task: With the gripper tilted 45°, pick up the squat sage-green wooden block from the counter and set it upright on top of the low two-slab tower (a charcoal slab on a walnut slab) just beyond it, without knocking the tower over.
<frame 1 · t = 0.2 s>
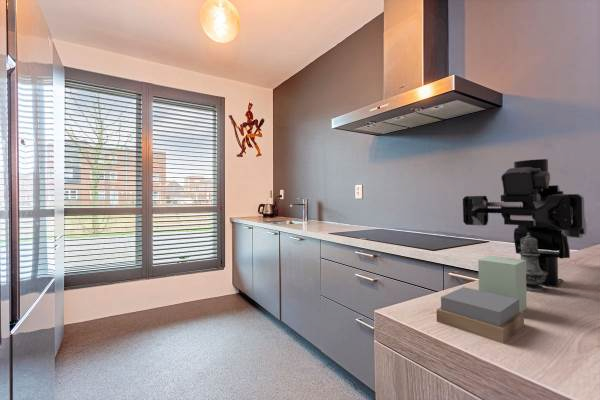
hand: (500, 214, 51), 17 cm above the table, tool horizontal, fingers open, 9 cm apart
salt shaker: (530, 289, 61), on the table
charcoal top slab: (479, 310, 44), point 2 cm above the table
walnut base slab: (479, 326, 45), on the table
sage green block: (502, 307, 51), on the table
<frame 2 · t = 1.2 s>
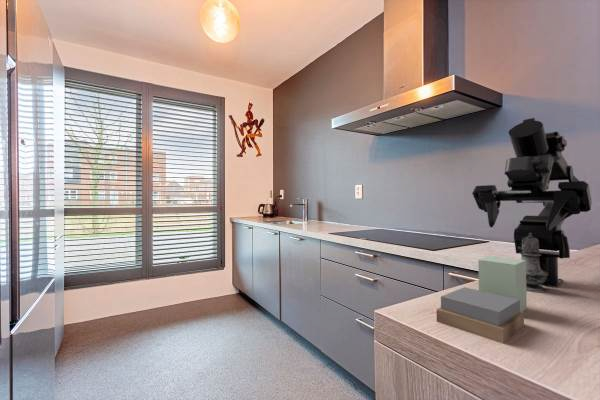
hand: (517, 227, 56), 14 cm above the table, tool tilted 45°, fingers open, 9 cm apart
charcoal top slab: (479, 310, 44), point 2 cm above the table, touching walnut base slab
walnut base slab: (479, 326, 44), on the table, touching charcoal top slab
everything else where it was.
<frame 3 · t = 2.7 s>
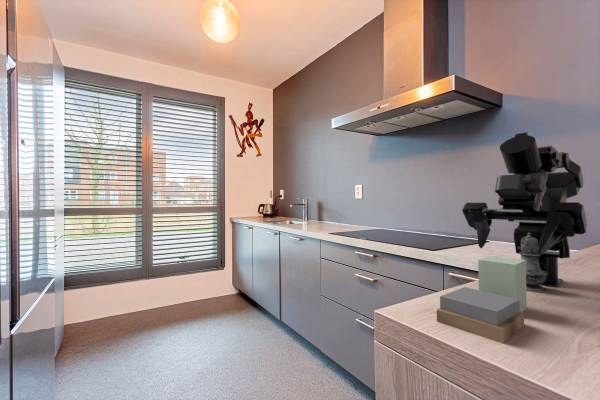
hand: (507, 249, 53), 10 cm above the table, tool tilted 45°, fingers open, 9 cm apart
charcoal top slab: (479, 310, 45), point 2 cm above the table
walnut base slab: (479, 327, 44), on the table
everything else where it was.
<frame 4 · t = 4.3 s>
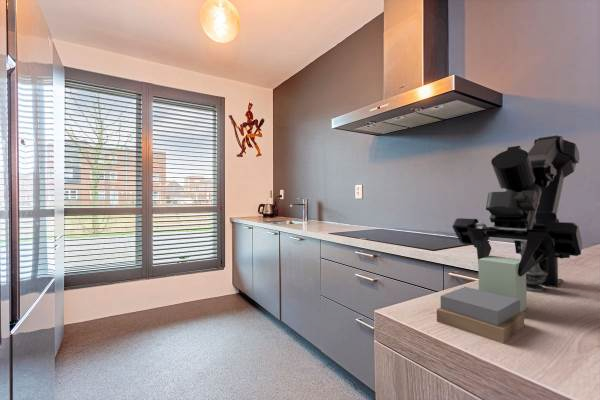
hand: (499, 271, 50), 7 cm above the table, tool tilted 45°, fingers closed on sage green block, 5 cm apart
charcoal top slab: (479, 310, 45), point 2 cm above the table, touching walnut base slab
walnut base slab: (479, 326, 44), on the table, touching charcoal top slab
sage green block: (502, 307, 51), on the table, touching gripper
everything else where it was.
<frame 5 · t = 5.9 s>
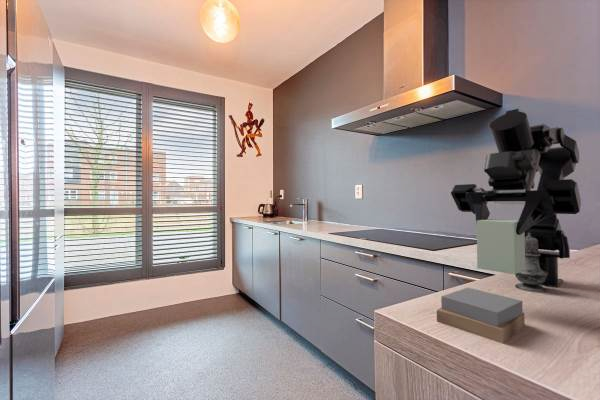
hand: (497, 231, 49), 14 cm above the table, tool tilted 45°, fingers closed on sage green block, 5 cm apart
sage green block: (500, 268, 50), point 7 cm above the table, touching gripper
everything else where it was.
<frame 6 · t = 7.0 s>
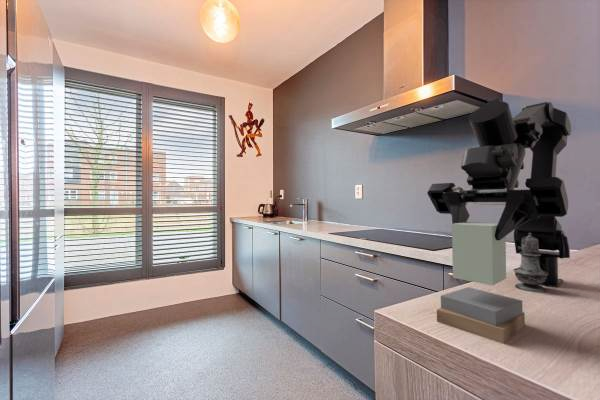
hand: (474, 236, 44), 14 cm above the table, tool tilted 45°, fingers closed on sage green block, 5 cm apart
sage green block: (479, 278, 45), point 7 cm above the table, touching gripper
everything else where it was.
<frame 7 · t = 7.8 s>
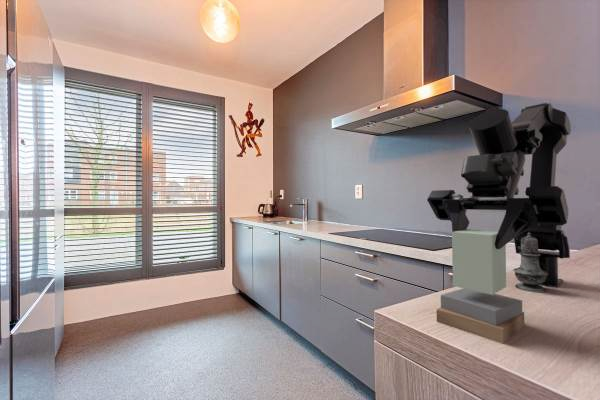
hand: (474, 245, 44), 12 cm above the table, tool tilted 45°, fingers closed on sage green block, 5 cm apart
sage green block: (479, 286, 45), point 6 cm above the table, touching gripper
everything else where it was.
when the fingers open (12 cm above the table, at t = 8.4 s): sage green block drops 2 cm, point 4 cm above the table.
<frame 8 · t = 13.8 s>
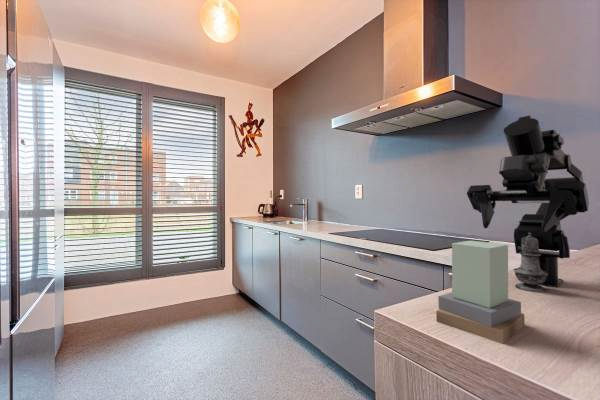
hand: (512, 228, 54), 14 cm above the table, tool tilted 45°, fingers open, 9 cm apart
charcoal top slab: (478, 311, 45), point 2 cm above the table
walnut base slab: (479, 328, 44), on the table
sage green block: (479, 298, 44), point 4 cm above the table
everything else where it was.
at the end: sage green block 0.2 cm off-centre on the charcoal top slab, point 2.0 cm above the charcoal top slab's base; sage green block tilted 1°; charcoal top slab 0.2 cm off-centre on the walnut base slab, point 2.5 cm above the walnut base slab's base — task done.
